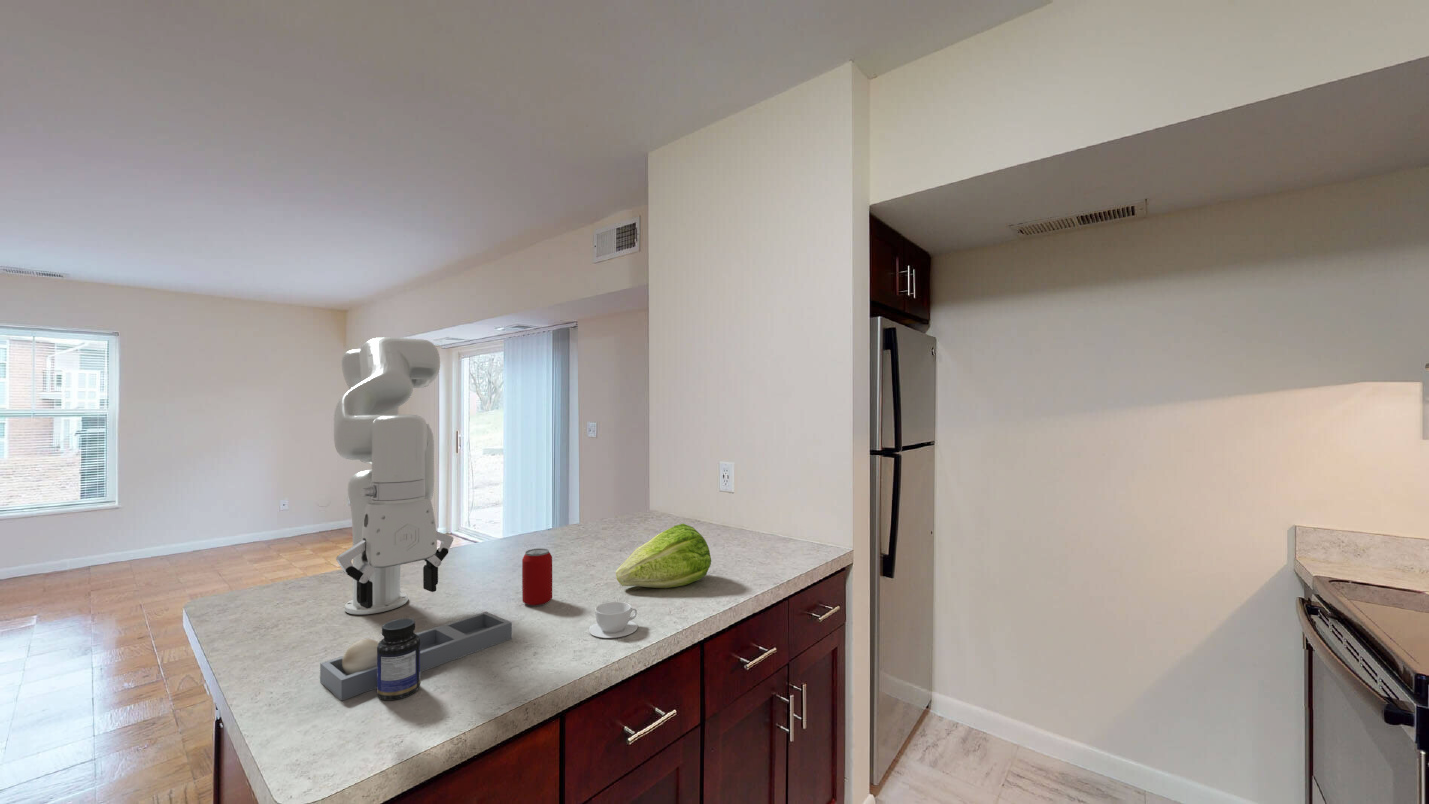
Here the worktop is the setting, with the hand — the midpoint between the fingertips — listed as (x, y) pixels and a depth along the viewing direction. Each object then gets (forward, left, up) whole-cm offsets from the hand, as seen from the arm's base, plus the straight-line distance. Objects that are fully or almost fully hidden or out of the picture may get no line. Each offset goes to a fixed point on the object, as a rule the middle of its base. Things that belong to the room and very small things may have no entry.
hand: (399, 598), depth 90 cm
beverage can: (-18, +38, -16) cm, 45 cm away
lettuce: (-5, +66, -16) cm, 68 cm away
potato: (-9, -2, -12) cm, 15 cm away
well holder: (-9, +8, -15) cm, 20 cm away
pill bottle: (0, 0, -16) cm, 15 cm away
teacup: (+8, +38, -16) cm, 42 cm away
